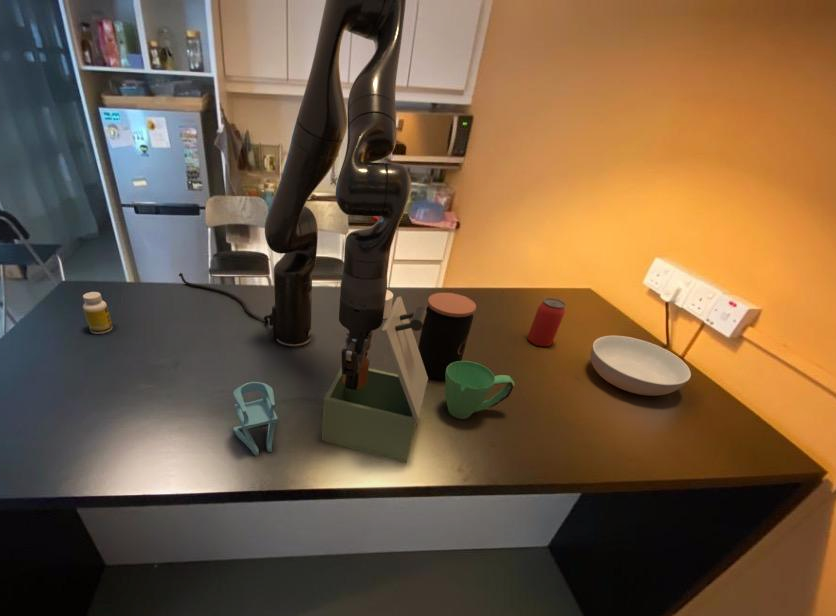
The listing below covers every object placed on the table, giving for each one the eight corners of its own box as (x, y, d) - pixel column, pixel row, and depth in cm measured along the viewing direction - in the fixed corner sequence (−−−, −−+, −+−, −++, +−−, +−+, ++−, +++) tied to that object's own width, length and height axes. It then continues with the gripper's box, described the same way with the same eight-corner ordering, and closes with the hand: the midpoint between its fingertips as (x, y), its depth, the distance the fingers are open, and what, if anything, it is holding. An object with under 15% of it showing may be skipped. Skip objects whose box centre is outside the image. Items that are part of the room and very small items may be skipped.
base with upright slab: (391, 320, 125) (397, 281, 118) (361, 318, 125) (365, 279, 117) (389, 306, 132) (394, 269, 125) (360, 304, 132) (364, 267, 125)
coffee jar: (458, 384, 100) (478, 316, 90) (413, 377, 102) (427, 309, 91) (457, 360, 109) (475, 295, 98) (415, 354, 110) (428, 289, 99)
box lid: (381, 330, 65) (414, 322, 63) (396, 297, 75) (426, 289, 73) (414, 419, 73) (444, 415, 71) (424, 378, 83) (451, 374, 81)
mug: (442, 426, 88) (453, 388, 82) (431, 397, 96) (440, 360, 90) (511, 427, 89) (526, 389, 83) (494, 397, 97) (507, 361, 91)
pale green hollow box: (321, 440, 83) (323, 399, 77) (340, 402, 93) (343, 362, 87) (406, 462, 79) (415, 421, 73) (416, 420, 89) (425, 380, 83)
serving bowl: (586, 393, 100) (598, 369, 96) (578, 350, 116) (588, 328, 112) (686, 417, 95) (704, 392, 91) (663, 368, 111) (677, 346, 107)
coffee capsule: (339, 385, 79) (341, 364, 76) (346, 372, 83) (348, 351, 80) (363, 391, 78) (366, 369, 75) (369, 377, 82) (372, 356, 79)
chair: (243, 459, 78) (237, 409, 71) (233, 430, 84) (227, 381, 77) (283, 449, 80) (282, 399, 73) (271, 421, 86) (268, 373, 79)
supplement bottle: (115, 331, 111) (105, 297, 105) (92, 336, 109) (81, 301, 103) (111, 322, 115) (101, 289, 109) (88, 327, 112) (77, 293, 106)
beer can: (526, 344, 118) (541, 304, 110) (527, 333, 123) (541, 295, 115) (551, 350, 116) (568, 310, 109) (551, 339, 121) (567, 300, 114)
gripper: (352, 277, 76) (346, 357, 87) (327, 311, 65) (323, 397, 75) (393, 284, 75) (382, 364, 85) (375, 320, 64) (364, 407, 74)
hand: (354, 380), depth 80 cm, fingers closed on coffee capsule, 4 cm apart
